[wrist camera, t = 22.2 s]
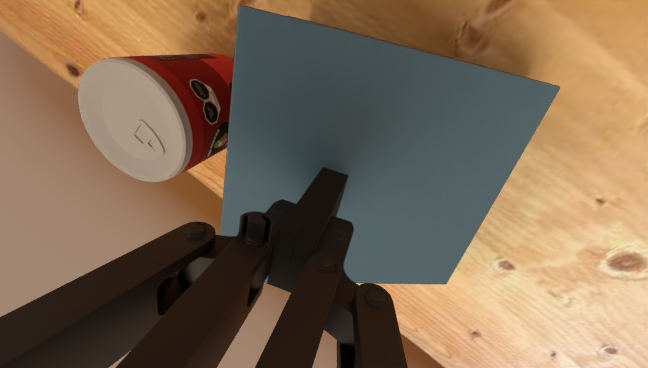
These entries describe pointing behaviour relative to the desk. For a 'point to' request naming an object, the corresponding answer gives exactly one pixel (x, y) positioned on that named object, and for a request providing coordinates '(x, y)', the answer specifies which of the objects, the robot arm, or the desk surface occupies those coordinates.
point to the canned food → (157, 111)
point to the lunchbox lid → (374, 140)
